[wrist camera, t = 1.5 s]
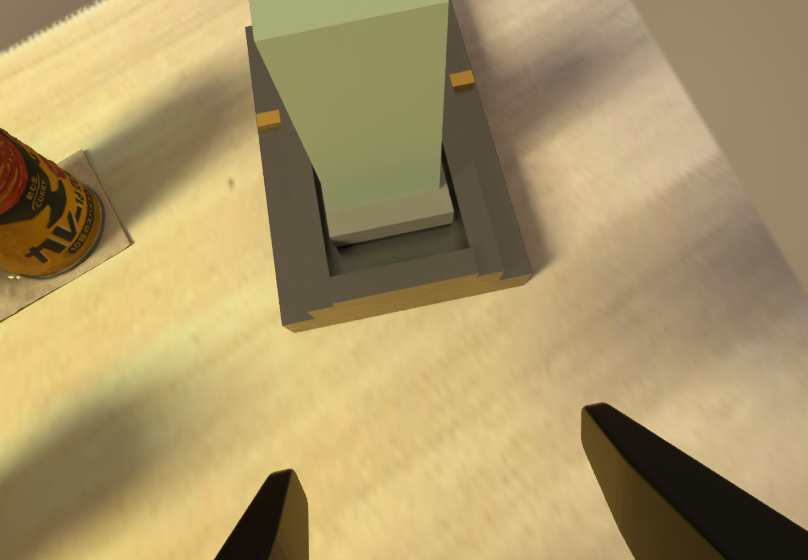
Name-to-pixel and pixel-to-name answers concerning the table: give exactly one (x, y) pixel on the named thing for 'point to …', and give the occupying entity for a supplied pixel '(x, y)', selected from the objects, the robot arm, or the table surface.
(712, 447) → the table surface
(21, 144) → the condiment
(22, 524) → the table surface
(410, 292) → the rail
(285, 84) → the fader tab
